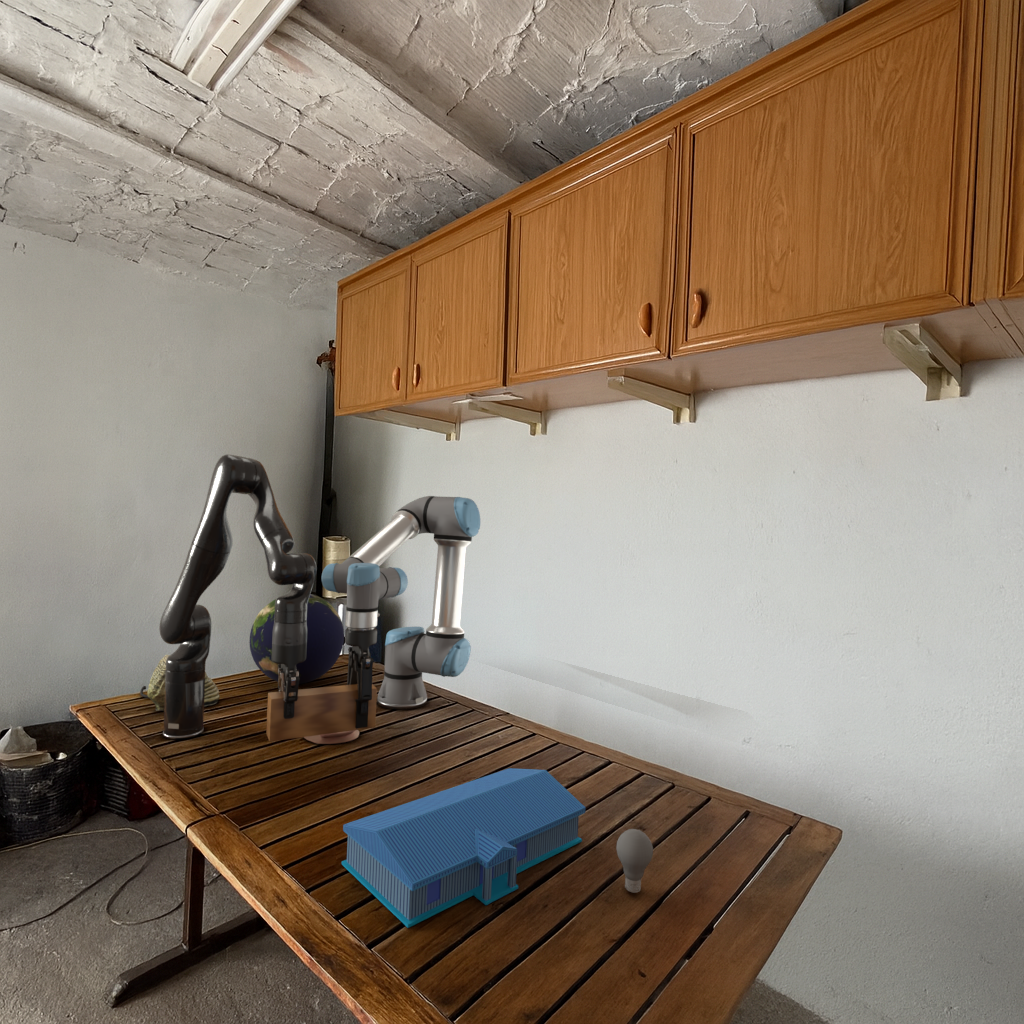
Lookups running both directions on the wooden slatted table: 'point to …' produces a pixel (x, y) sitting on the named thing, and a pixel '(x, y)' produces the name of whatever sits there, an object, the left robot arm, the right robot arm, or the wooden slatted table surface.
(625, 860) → the light bulb
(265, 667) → the globe
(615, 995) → the wooden slatted table surface
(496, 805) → the model building
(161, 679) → the fossil
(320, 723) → the bar
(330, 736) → the anatomical model
